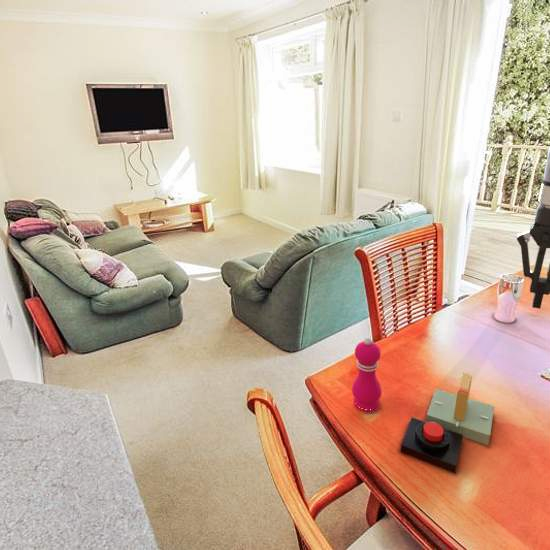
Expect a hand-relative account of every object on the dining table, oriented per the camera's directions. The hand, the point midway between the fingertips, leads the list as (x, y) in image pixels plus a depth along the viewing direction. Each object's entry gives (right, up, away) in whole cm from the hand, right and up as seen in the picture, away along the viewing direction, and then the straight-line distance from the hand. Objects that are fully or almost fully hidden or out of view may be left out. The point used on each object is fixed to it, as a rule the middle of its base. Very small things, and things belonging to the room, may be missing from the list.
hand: (536, 305), depth 87 cm
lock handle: (-17, -25, +1) cm, 30 cm away
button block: (-26, -31, -4) cm, 41 cm away
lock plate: (-17, -27, +2) cm, 32 cm away
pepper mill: (-37, -26, +9) cm, 46 cm away
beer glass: (+17, -8, +40) cm, 44 cm away
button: (-26, -28, -6) cm, 39 cm away
